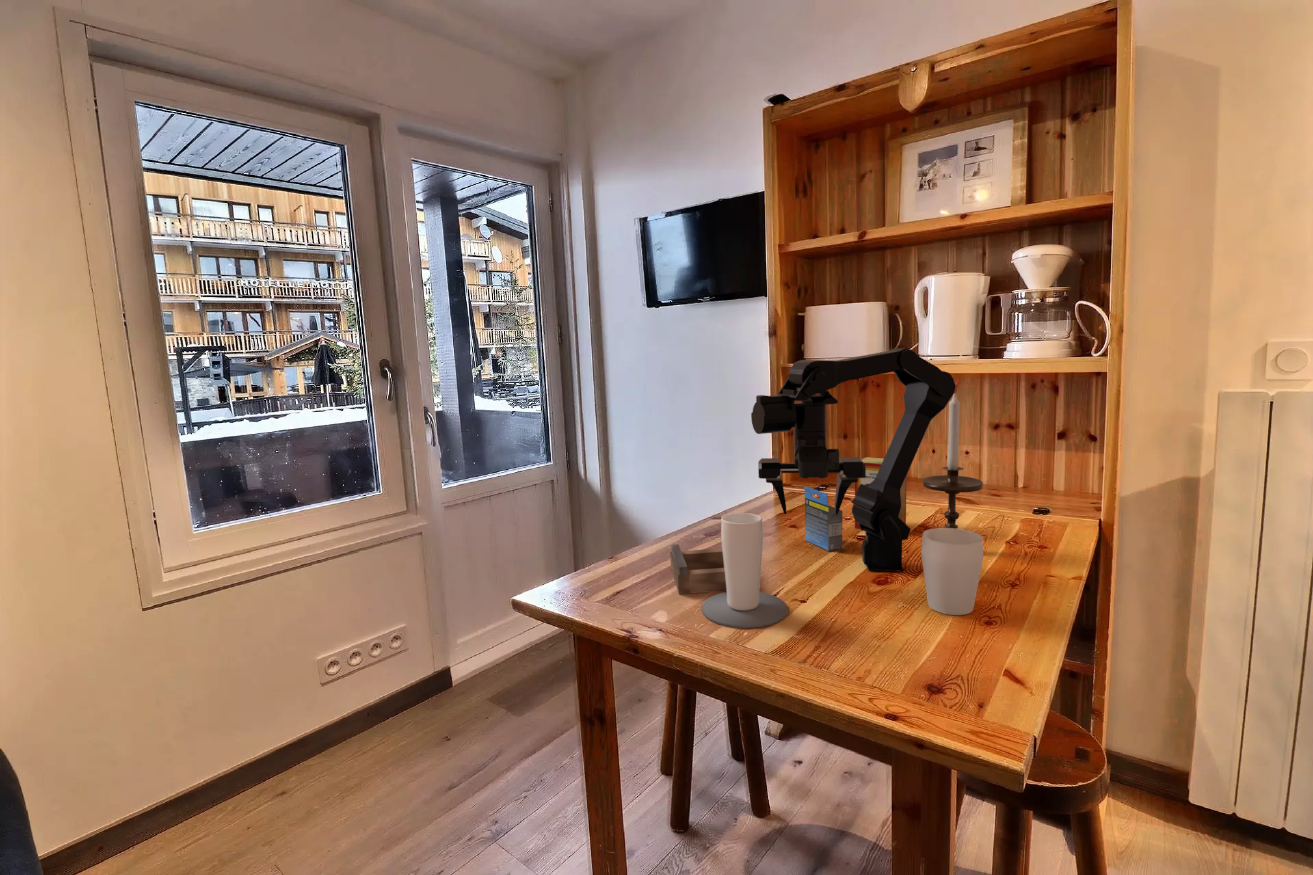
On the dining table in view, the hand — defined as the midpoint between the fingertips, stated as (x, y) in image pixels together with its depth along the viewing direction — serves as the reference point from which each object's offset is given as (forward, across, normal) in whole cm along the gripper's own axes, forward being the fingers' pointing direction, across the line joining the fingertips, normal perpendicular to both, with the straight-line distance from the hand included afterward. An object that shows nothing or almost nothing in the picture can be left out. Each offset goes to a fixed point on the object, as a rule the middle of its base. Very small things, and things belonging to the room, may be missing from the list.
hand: (810, 513), depth 119 cm
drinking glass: (+12, -12, -16) cm, 23 cm away
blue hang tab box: (+12, +4, +19) cm, 23 cm away
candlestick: (+12, +29, +16) cm, 35 cm away
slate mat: (+12, -12, -16) cm, 23 cm away
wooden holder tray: (+12, -19, -2) cm, 23 cm away
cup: (+12, +21, -13) cm, 28 cm away
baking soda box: (+12, +18, +32) cm, 39 cm away
